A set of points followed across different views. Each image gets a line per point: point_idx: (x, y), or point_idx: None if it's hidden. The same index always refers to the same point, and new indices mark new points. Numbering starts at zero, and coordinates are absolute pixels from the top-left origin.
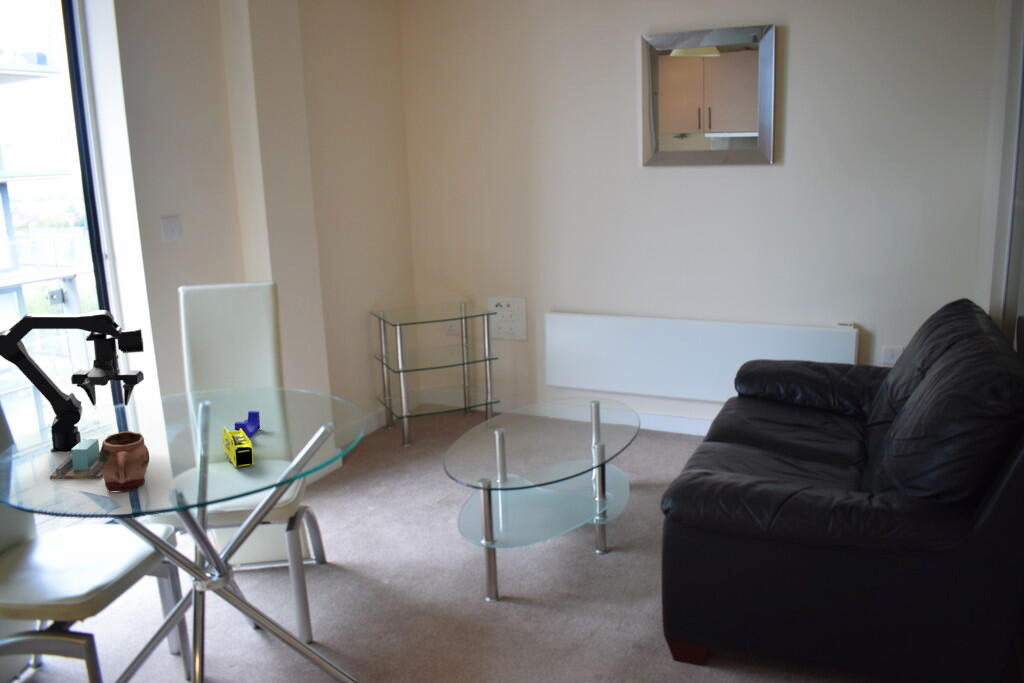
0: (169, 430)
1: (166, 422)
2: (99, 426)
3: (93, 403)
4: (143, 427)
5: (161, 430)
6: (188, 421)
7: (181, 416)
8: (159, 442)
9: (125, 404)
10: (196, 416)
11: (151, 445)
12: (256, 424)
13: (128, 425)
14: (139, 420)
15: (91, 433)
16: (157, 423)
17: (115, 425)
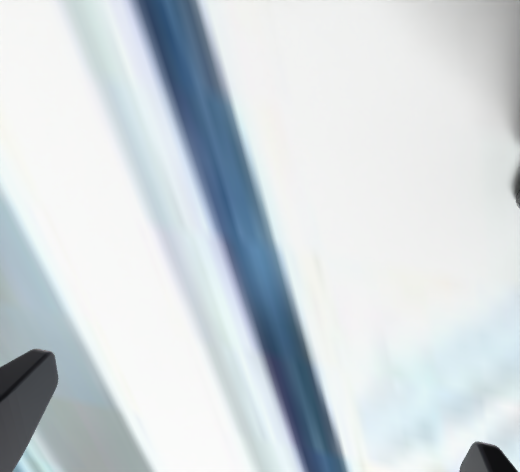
0: (62, 330)
1: (121, 423)
2: (429, 447)
3: (493, 467)
4: (204, 391)
5: (101, 338)
6: None
7: (88, 466)
8: (30, 163)
9: (30, 358)
10: (28, 453)
11: (53, 115)
12: None
13: (285, 428)
14: (250, 468)
15: (463, 371)
16: (156, 421)
17: (349, 442)
